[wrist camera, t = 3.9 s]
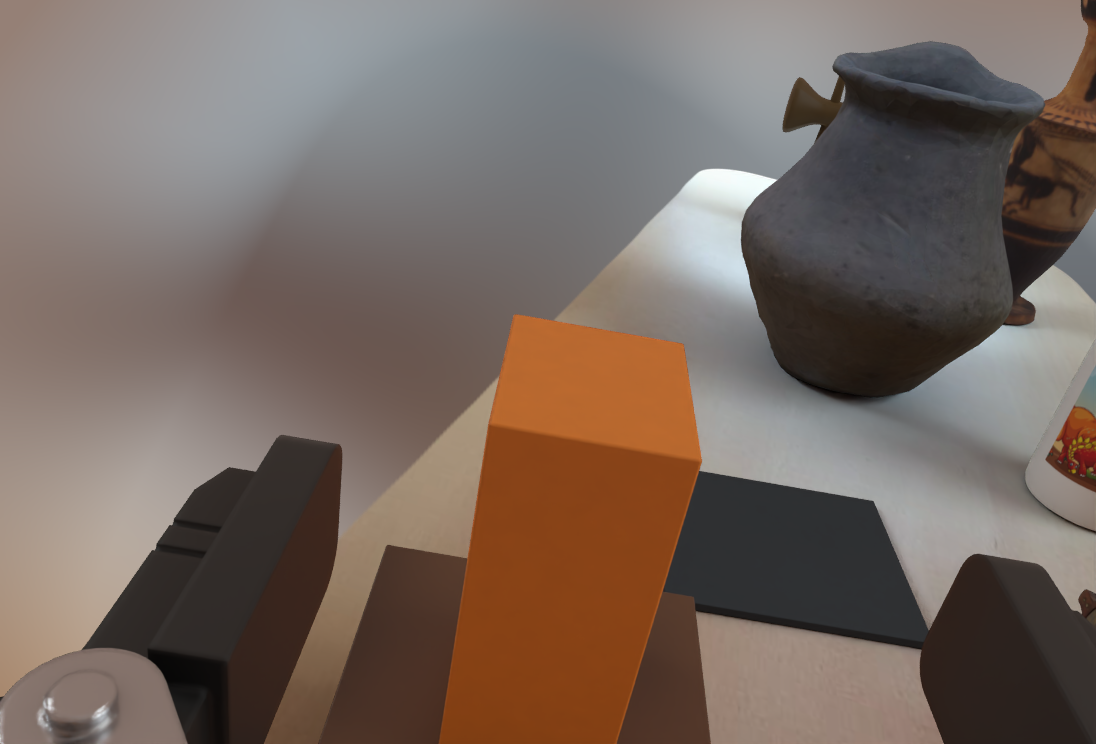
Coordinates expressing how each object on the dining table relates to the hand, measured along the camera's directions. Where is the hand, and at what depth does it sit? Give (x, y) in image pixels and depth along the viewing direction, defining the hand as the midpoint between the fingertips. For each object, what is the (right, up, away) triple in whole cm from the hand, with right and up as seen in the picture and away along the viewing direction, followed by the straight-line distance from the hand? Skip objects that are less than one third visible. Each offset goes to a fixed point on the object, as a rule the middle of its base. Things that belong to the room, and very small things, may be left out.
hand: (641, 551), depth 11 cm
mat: (+12, -8, +39) cm, 42 cm away
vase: (+44, +9, +80) cm, 92 cm away
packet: (-2, -8, +17) cm, 19 cm away
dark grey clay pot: (+22, +3, +62) cm, 66 cm away
